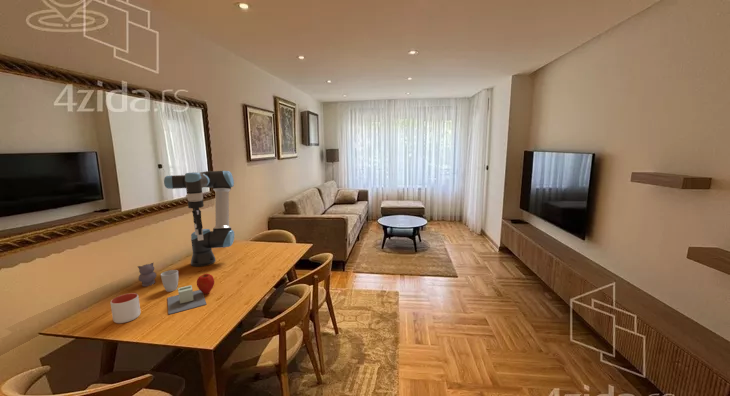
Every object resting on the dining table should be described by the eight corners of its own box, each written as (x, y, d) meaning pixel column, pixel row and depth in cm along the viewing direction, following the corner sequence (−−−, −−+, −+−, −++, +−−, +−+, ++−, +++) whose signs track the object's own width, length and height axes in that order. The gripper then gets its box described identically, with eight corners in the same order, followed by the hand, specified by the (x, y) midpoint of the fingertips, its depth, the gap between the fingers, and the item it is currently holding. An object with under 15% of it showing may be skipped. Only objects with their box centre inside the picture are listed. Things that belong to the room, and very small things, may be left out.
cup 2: (183, 287, 168) (181, 270, 167) (169, 293, 160) (167, 276, 159) (172, 285, 171) (171, 269, 169) (159, 291, 163) (157, 274, 162)
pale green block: (179, 299, 152) (177, 287, 151) (192, 295, 156) (191, 283, 155) (179, 303, 148) (178, 291, 147) (193, 300, 151) (192, 288, 150)
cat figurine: (141, 288, 167) (138, 268, 166) (138, 284, 173) (135, 265, 171) (158, 283, 174) (156, 264, 172) (155, 279, 179) (153, 261, 177)
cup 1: (123, 313, 141) (120, 293, 140) (145, 312, 142) (143, 292, 141) (107, 325, 131) (104, 304, 130) (131, 323, 132) (128, 303, 131)
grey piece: (167, 298, 156) (166, 288, 155) (201, 289, 165) (200, 280, 164) (168, 314, 139) (167, 304, 138) (206, 304, 148) (205, 294, 147)
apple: (199, 291, 163) (197, 272, 161) (216, 288, 166) (214, 270, 164) (196, 298, 155) (194, 278, 154) (214, 295, 158) (212, 276, 157)
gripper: (185, 198, 172) (189, 233, 175) (189, 204, 151) (193, 244, 155) (200, 197, 176) (204, 231, 179) (205, 202, 156) (209, 241, 159)
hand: (199, 237), depth 167 cm, fingers open, 13 cm apart
